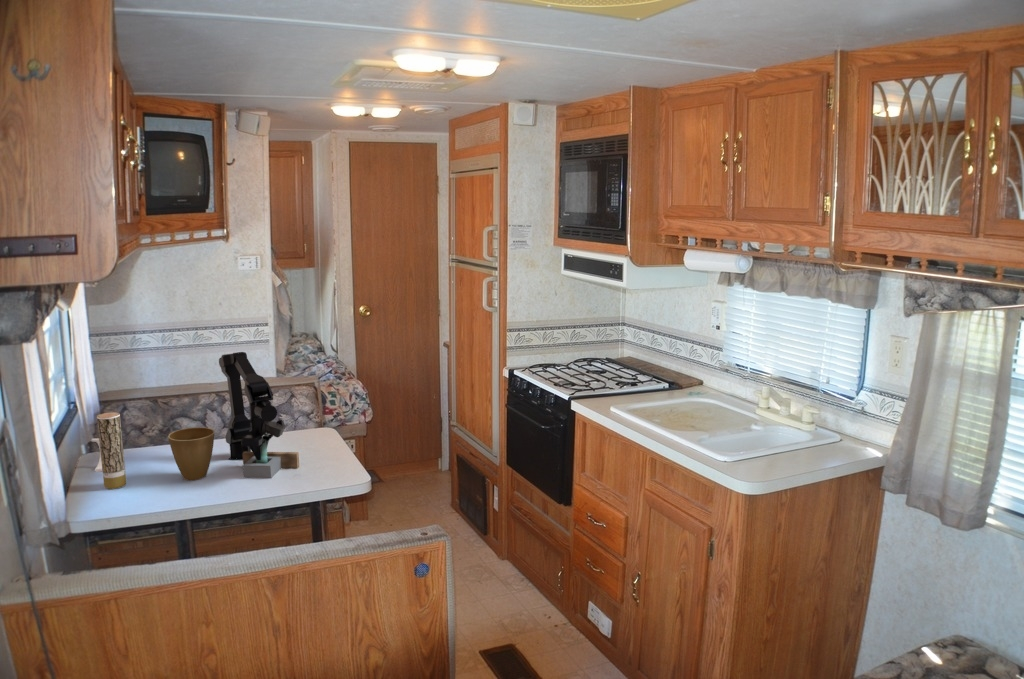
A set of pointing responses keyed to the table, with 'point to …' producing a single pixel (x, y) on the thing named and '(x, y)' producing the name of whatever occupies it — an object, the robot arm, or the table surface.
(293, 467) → the backstop wall
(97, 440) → the headphone stand
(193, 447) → the plant pot
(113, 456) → the brown bark cylinder
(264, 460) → the dowel
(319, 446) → the table surface
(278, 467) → the socket block
